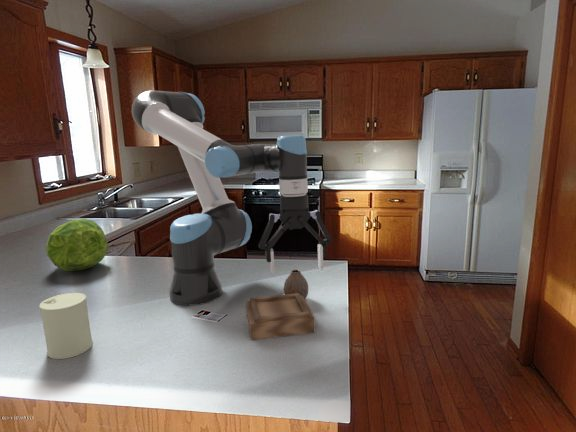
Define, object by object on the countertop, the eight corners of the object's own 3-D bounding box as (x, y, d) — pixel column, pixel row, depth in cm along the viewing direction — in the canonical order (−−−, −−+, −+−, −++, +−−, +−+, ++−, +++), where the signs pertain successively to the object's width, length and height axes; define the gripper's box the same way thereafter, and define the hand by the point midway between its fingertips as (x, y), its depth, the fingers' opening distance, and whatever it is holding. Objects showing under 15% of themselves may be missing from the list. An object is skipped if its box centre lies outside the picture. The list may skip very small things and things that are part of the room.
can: (59, 339, 95) (51, 291, 93) (99, 336, 96) (92, 289, 93) (38, 360, 86) (29, 308, 84) (83, 357, 87) (75, 306, 84)
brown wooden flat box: (251, 339, 92) (250, 320, 91) (246, 315, 105) (245, 297, 104) (314, 332, 95) (314, 313, 94) (302, 309, 107) (302, 292, 106)
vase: (311, 297, 115) (311, 267, 113) (304, 307, 109) (304, 276, 107) (288, 294, 117) (287, 265, 115) (280, 304, 111) (279, 274, 109)
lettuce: (91, 257, 161) (76, 214, 156) (122, 259, 146) (106, 212, 142) (41, 278, 146) (23, 232, 142) (71, 283, 132) (51, 231, 127)
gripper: (248, 199, 101) (253, 279, 105) (343, 193, 105) (344, 270, 109) (245, 195, 108) (250, 270, 112) (334, 189, 112) (336, 262, 116)
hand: (296, 270), depth 111 cm, fingers open, 13 cm apart
